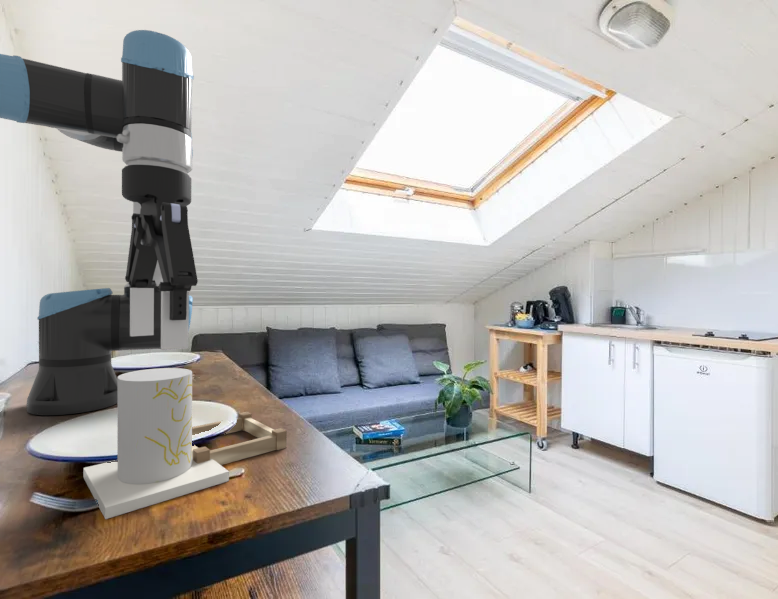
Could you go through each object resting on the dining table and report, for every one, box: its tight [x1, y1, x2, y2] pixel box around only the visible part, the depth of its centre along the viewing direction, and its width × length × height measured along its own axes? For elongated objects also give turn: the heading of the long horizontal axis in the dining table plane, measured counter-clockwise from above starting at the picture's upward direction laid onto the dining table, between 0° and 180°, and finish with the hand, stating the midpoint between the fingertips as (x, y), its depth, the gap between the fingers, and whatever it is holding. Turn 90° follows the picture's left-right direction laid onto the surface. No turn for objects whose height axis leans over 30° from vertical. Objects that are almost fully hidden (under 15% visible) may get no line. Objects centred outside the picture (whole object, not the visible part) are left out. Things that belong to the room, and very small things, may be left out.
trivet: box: [82, 457, 230, 520], centre depth 52 cm, size 13×13×1 cm
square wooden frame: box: [192, 411, 288, 466], centre depth 64 cm, size 13×13×3 cm
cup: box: [117, 367, 193, 484], centre depth 52 cm, size 8×8×12 cm
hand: (156, 341), depth 52 cm, fingers open, 13 cm apart
